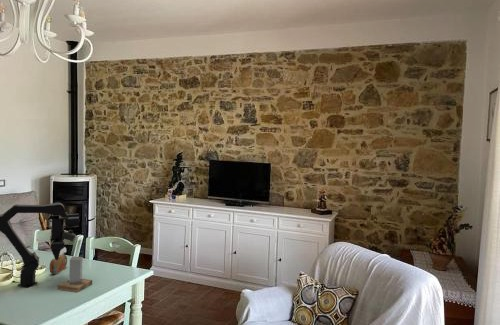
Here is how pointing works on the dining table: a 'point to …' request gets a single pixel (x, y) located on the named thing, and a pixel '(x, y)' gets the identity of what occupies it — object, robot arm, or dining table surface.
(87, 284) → the plate
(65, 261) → the tin
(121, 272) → the dining table surface
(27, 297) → the dining table surface
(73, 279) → the brushed metal box
